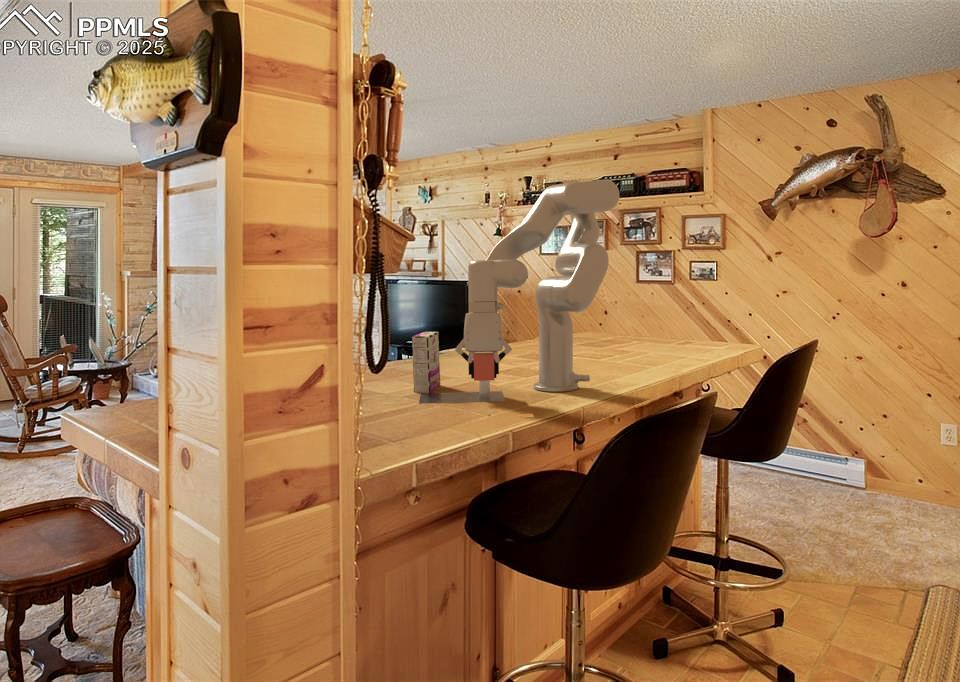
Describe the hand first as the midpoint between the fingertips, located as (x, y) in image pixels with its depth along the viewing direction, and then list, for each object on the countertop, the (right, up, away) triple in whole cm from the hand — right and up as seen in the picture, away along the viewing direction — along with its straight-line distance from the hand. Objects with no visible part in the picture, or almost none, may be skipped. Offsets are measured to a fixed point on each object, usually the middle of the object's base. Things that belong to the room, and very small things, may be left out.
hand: (483, 376), depth 171 cm
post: (-6, -6, +1) cm, 8 cm away
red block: (0, -1, 0) cm, 1 cm away
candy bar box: (-16, -5, +13) cm, 21 cm away
